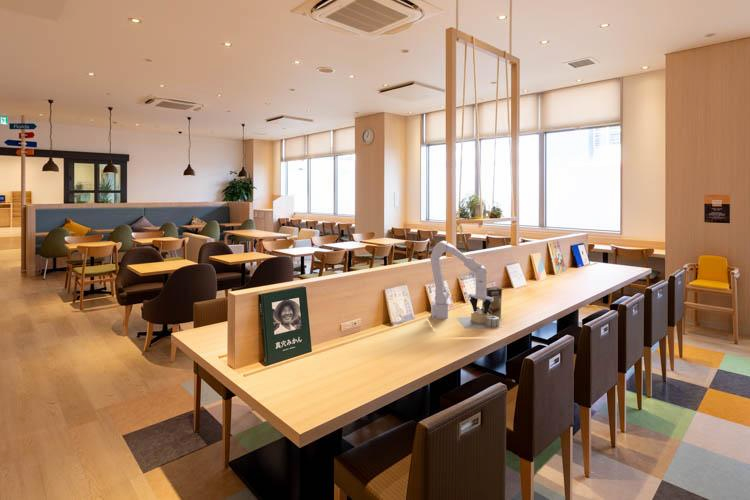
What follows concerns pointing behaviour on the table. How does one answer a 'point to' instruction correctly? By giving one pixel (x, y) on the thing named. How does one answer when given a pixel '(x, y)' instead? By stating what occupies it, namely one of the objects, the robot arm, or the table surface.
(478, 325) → the fitting board
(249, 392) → the table surface
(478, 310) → the metal cylinder
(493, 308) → the coffee box
